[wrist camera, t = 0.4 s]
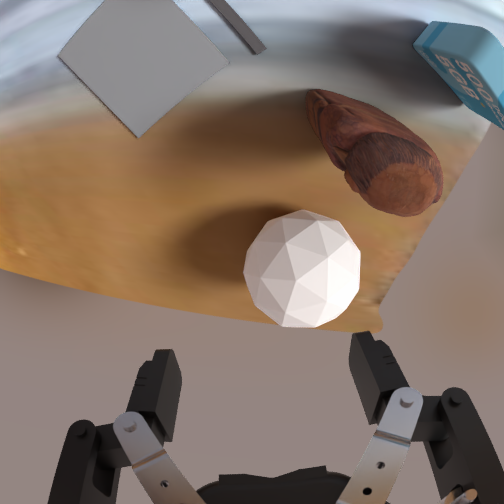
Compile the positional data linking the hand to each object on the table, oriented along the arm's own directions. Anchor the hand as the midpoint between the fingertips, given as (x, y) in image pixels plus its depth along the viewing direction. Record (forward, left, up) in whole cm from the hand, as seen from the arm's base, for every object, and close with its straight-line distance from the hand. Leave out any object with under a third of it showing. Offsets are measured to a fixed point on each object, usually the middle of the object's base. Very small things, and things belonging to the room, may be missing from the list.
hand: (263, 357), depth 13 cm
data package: (+4, +26, -28) cm, 38 cm away
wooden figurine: (+4, +10, -28) cm, 30 cm away
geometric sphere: (+15, -4, -28) cm, 32 cm away
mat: (-17, -2, -28) cm, 33 cm away
